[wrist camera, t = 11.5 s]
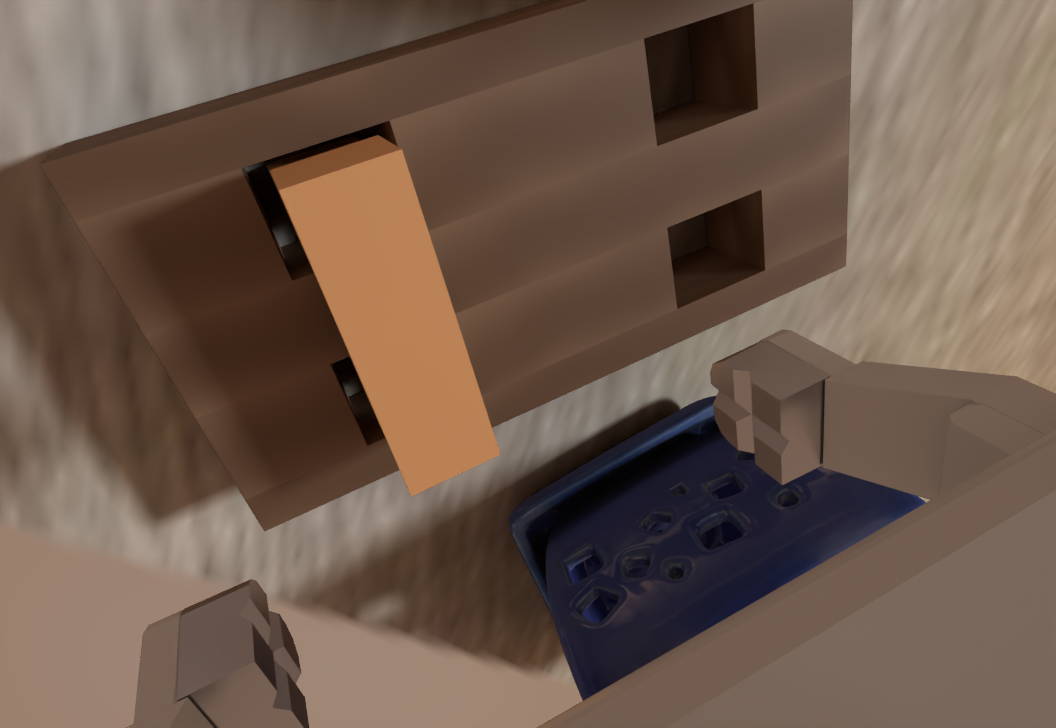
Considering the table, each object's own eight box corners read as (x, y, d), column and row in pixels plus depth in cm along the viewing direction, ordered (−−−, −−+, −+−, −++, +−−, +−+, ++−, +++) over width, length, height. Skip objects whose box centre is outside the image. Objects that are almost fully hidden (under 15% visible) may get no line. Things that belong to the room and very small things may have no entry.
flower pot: (555, 660, 36) (688, 897, 26) (462, 494, 29) (596, 735, 19) (753, 530, 38) (943, 702, 28) (713, 346, 31) (948, 492, 21)
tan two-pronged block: (433, 358, 25) (500, 454, 20) (362, 388, 25) (411, 495, 19) (346, 116, 21) (401, 149, 15) (257, 144, 20) (279, 190, 14)
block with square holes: (65, 143, 18) (39, 164, 15) (776, -66, 24) (854, -80, 21) (257, 472, 24) (264, 531, 21) (784, 243, 30) (846, 266, 27)
